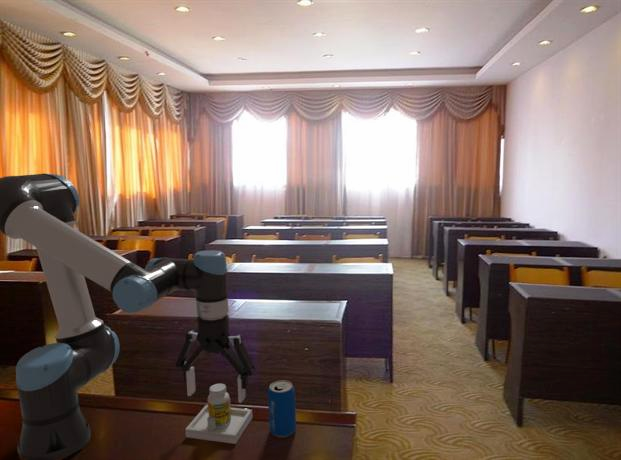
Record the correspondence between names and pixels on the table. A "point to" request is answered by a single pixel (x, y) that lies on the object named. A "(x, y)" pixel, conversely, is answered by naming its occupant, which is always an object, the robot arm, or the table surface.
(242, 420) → the tray
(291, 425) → the beverage can
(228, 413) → the supplement bottle
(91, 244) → the robot arm
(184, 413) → the table surface
